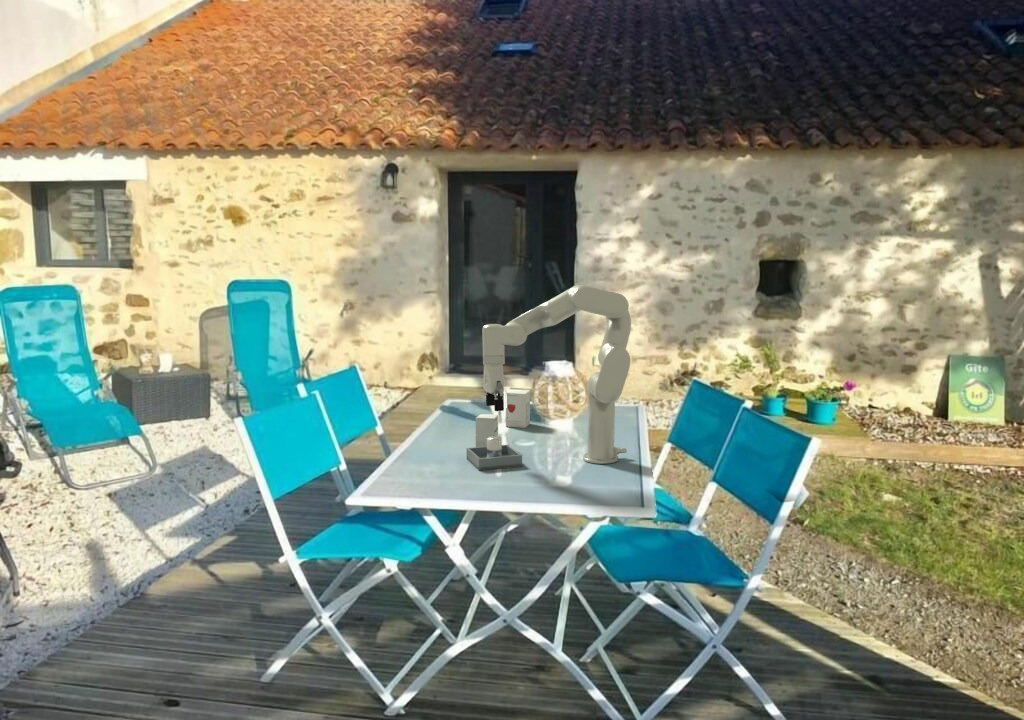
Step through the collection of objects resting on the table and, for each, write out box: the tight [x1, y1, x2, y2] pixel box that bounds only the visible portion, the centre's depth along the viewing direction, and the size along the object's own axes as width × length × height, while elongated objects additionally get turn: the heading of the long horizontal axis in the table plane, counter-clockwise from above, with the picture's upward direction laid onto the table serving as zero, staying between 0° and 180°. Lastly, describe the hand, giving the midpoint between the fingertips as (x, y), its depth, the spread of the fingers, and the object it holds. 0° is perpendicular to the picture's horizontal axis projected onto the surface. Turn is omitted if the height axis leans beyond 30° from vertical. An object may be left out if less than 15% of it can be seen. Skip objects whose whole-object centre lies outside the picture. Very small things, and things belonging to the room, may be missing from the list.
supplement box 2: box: [505, 388, 531, 429], centre depth 328 cm, size 9×9×15 cm
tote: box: [466, 444, 523, 471], centre depth 271 cm, size 16×16×4 cm
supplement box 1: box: [475, 413, 499, 447], centre depth 289 cm, size 7×7×13 cm
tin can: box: [487, 435, 503, 458], centre depth 270 cm, size 5×5×8 cm
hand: (494, 408), depth 268 cm, fingers open, 9 cm apart
